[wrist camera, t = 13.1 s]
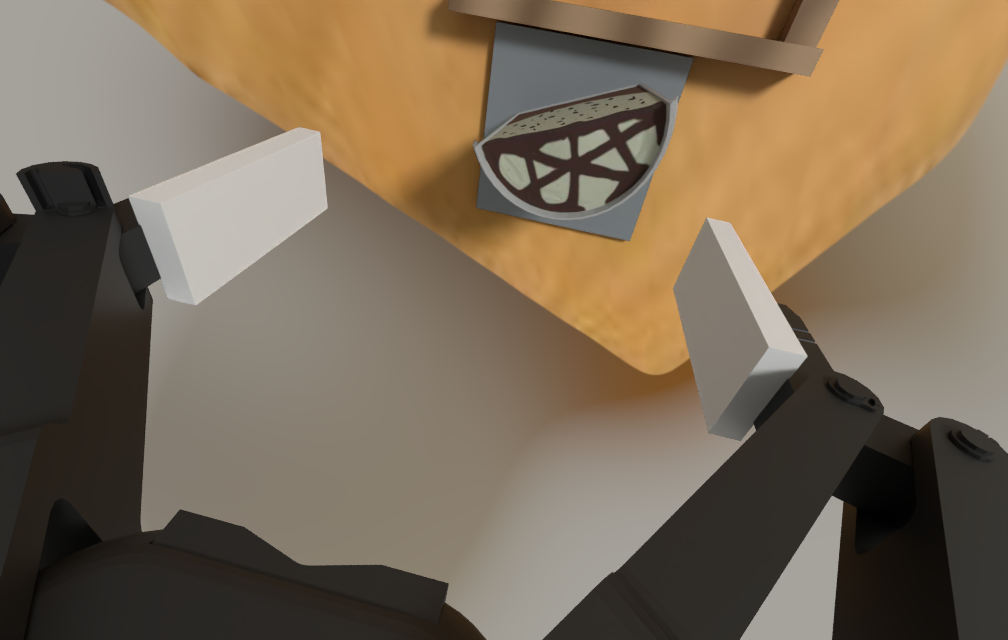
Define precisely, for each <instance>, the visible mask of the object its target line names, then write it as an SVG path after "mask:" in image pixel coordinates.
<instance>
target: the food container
mask: <svg viewBox="0 0 1008 640" xmlns="http://www.w3.org/2000/svg"><path fill="white" fill-rule="evenodd" d="M677 104H678V95H675V97H674V99H673V100H672V101H670V100H668V99H667V98H665V97H664V96H662V95H660V94H659V93H657V92H656V91H654V90H652V89H651V88H649V87H648V86H646V85H645V84H643V83H638V84H634V85H630V86H626V87H622V88H618V89H613V90H609V91H605V92H601V93H597V94H592V95H588V96H584V97H580V98H576V99H572V100H567V101H563V102H559V103H555V104H551V105H547V106H542V107H538V108H534V109H530V110H526V111H521V112H517V113H516V114H515V115H513V116H512V117H511V118H510V119H508V120H507V121H506V122H505V123H503V124H502V125H501V126H499V127H498V128H497V129H496V130H494V131H493V132H492V133H491V134H489V135H488V136H487V137H486V138H484V139H483V140H482V141H480V142H479V143H477V140H476V141H474V143H473V148H474V151H475V153H476V156H477V159H478V161H479V163H480V165H481V167H482V169H483V171H484V173H485V174H486V176H487V177H488V179H489V180H490V181H491V183H492V184H493V186H494V187H495V188H496V189H497V190H498V191H499V192H500V193H501V194H502V195H503V196H504V197H505V198H507V199H508V200H509V201H511V202H512V203H513V204H514V205H516V206H518V207H520V208H522V209H523V210H525V211H527V212H529V213H532V214H535V215H537V216H540V217H545V218H549V219H554V220H579V219H585V218H589V217H594V216H597V215H600V214H602V213H605V212H607V211H610V210H612V209H613V208H615V207H617V206H619V205H620V204H622V203H624V202H625V201H626V200H628V199H629V198H630V197H631V196H633V195H634V194H635V193H636V192H637V191H638V190H639V189H640V188H641V187H642V186H643V185H644V184H645V183H646V182H647V181H648V180H649V178H650V177H651V175H652V174H653V173H654V171H655V170H656V169H657V167H658V165H659V163H660V161H661V160H662V158H663V156H664V154H665V152H666V150H667V147H668V144H669V142H670V139H671V136H672V133H673V130H674V125H675V120H676V115H677Z"/></svg>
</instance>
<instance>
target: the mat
mask: <svg viewBox="0 0 1008 640" xmlns="http://www.w3.org/2000/svg"><path fill="white" fill-rule="evenodd" d="M693 59H694V58H693V57H687V56H682V55H676V54H671V53H665V52H660V51H654V50H649V49H644V48H638V47H633V46H627V45H622V44H616V43H611V42H605V41H600V40H595V39H589V38H584V37H578V36H573V35H567V34H562V33H557V32H551V31H546V30H540V29H535V28H529V27H524V26H518V25H513V24H508V23H502V22H496V30H495V40H494V49H493V58H492V67H491V77H490V86H489V95H488V104H487V113H486V123H485V132H484V138H486V137H487V136H488V135H489V134H491V133H492V132H493V131H494V130H496V129H497V128H498V127H499V126H501V125H502V124H503V123H505V122H506V121H507V120H508V119H510V118H511V117H512V116H513V115H515V114H516V113H517V112H521V111H526V110H530V109H534V108H538V107H542V106H547V105H551V104H555V103H559V102H563V101H567V100H572V99H576V98H580V97H584V96H588V95H592V94H597V93H601V92H605V91H609V90H613V89H618V88H622V87H626V86H630V85H634V84H638V83H643V84H645V85H646V86H648V87H649V88H651V89H652V90H654V91H656V92H657V93H659V94H660V95H662V96H664V97H665V98H667V99H668V100H670V101H672V100H673V99H674V97H675V95H678V102H679V99H680V97H681V94H682V91H683V88H684V85H685V82H686V79H687V77H688V74H689V71H690V68H691V65H692V62H693ZM677 105H678V104H677ZM653 174H654V173H653ZM653 174H652V175H651V177H650V178H649V180H648V181H647V182H646V183H645V184H644V185H643V186H642V187H641V188H640V189H639V190H638V191H637V192H636V193H635V194H634V195H633V196H631V197H630V198H629V199H628V200H626V201H625V202H624V203H622V204H620V205H619V206H617V207H615V208H613V209H612V210H610V211H607V212H605V213H602V214H600V215H597V216H594V217H589V218H585V219H579V220H554V219H549V218H545V217H540V216H537V215H535V214H532V213H529V212H527V211H525V210H523V209H522V208H520V207H518V206H516V205H514V204H513V203H512V202H511V201H509V200H508V199H507V198H505V197H504V196H503V195H502V194H501V193H500V192H499V191H498V190H497V189H496V188H495V187H494V186H493V184H492V183H491V181H490V180H489V179H488V177H487V176H486V174H485V173H484V171H483V169H482V167H481V169H480V178H479V187H478V196H477V206H476V208H479V209H484V210H489V211H493V212H498V213H502V214H507V215H512V216H516V217H521V218H526V219H530V220H535V221H539V222H544V223H549V224H553V225H558V226H562V227H567V228H572V229H576V230H581V231H586V232H590V233H595V234H599V235H604V236H609V237H613V238H618V239H622V240H627V241H630V239H631V236H632V233H633V231H634V228H635V225H636V222H637V219H638V216H639V213H640V211H641V208H642V205H643V202H644V199H645V196H646V194H647V191H648V188H649V185H650V182H651V179H652V176H653Z"/></svg>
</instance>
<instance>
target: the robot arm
mask: <svg viewBox="0 0 1008 640" xmlns="http://www.w3.org/2000/svg"><path fill="white" fill-rule="evenodd" d="M16 175H17V177H18V178H19V180H20V182H21V184H22V186H23V188H24V190H25V192H26V193H27V195H28V197H29V199H30V201H31V203H32V205H33V206H34V208H35V210H36V212H35V215H28V214H13V213H12V212H11V210H10V208H9V207H8V205H7V203H6V201H5V200H4V198H3V196H2V195H1V194H0V640H486V638H484V636H483V635H482V634H481V633H480V632H479V630H478V629H477V628H476V627H475V626H474V625H473V624H472V623H471V622H470V621H469V620H468V619H467V618H465V617H464V616H463V615H462V614H461V613H460V612H458V611H457V610H455V609H454V608H452V607H451V606H449V605H448V604H446V603H445V600H446V595H447V590H448V583H445V582H441V581H437V580H434V579H430V578H427V577H423V576H420V575H416V574H412V573H409V572H405V571H402V570H398V569H394V568H391V567H387V566H383V565H331V566H329V565H328V566H327V565H326V566H307V565H301V564H299V563H297V562H295V561H293V560H292V559H290V558H289V557H288V556H286V555H285V554H283V553H282V552H280V551H279V550H277V549H276V548H274V547H273V546H271V545H270V544H268V543H267V542H265V541H264V540H262V539H261V538H259V537H258V536H257V535H255V534H253V533H252V532H251V531H249V530H248V529H246V528H245V527H242V526H238V525H234V524H231V523H227V522H224V521H220V520H217V519H213V518H209V517H206V516H202V515H198V514H194V513H191V512H187V511H184V510H179V511H178V512H177V514H176V515H175V516H174V517H173V518H172V520H171V521H170V522H169V523H168V525H167V526H166V527H165V528H164V529H163V530H155V531H147V532H142V531H141V522H140V515H141V497H142V480H143V462H144V445H145V426H146V410H147V392H148V373H149V357H150V339H151V322H152V304H153V299H152V296H151V294H150V292H149V289H148V286H149V285H151V284H152V283H154V282H156V281H157V280H159V279H160V280H161V282H162V285H163V288H164V290H165V292H166V295H167V298H168V299H171V300H175V301H179V302H183V303H187V304H191V305H195V306H196V305H197V304H199V303H200V302H201V301H203V300H204V299H205V298H207V297H208V296H209V295H211V294H212V293H214V292H215V291H216V290H218V289H219V288H220V287H222V286H223V285H224V284H226V283H227V282H228V281H230V280H231V279H232V278H234V277H235V276H237V275H238V274H239V273H241V272H242V271H243V270H245V269H246V268H247V267H249V266H250V265H252V264H253V263H254V262H255V261H257V260H258V259H260V258H261V257H262V256H264V255H265V254H266V253H268V252H269V251H270V250H272V249H273V248H274V247H276V246H277V245H279V244H280V243H281V242H283V241H284V240H285V239H287V238H288V237H289V236H291V235H292V234H293V233H295V232H296V231H297V230H298V229H300V228H302V227H303V226H304V225H306V224H307V223H308V222H310V221H311V220H312V219H314V218H315V217H316V216H318V215H319V214H320V213H322V212H323V211H325V210H326V209H327V208H328V207H327V197H326V187H325V177H324V166H323V156H322V146H321V136H320V132H318V131H314V130H309V129H305V128H300V127H298V128H295V129H293V130H290V131H288V132H286V133H283V134H281V135H278V136H276V137H273V138H271V139H268V140H266V141H263V142H261V143H258V144H256V145H253V146H251V147H248V148H246V149H244V150H241V151H238V152H236V153H233V154H231V155H228V156H226V157H223V158H221V159H218V160H216V161H213V162H211V163H208V164H206V165H204V166H201V167H199V168H196V169H194V170H191V171H189V172H186V173H184V174H181V175H179V176H176V177H174V178H171V179H169V180H166V181H164V182H162V183H159V184H156V185H154V186H151V187H149V188H146V189H144V190H142V191H139V192H136V193H134V194H131V195H129V196H128V197H129V198H128V199H125V200H123V201H120V202H118V203H115V204H113V202H112V200H111V198H110V195H109V193H108V190H107V188H106V185H105V183H104V181H103V178H102V176H101V173H100V171H99V169H98V167H96V166H94V165H92V164H88V163H82V162H68V161H66V162H65V161H63V162H48V163H43V164H37V165H32V166H30V167H27V168H24V169H21V170H20V171H19V172H17V173H16ZM673 290H674V294H675V298H676V302H677V306H678V310H679V314H680V319H681V323H682V327H683V331H684V335H685V339H686V343H687V347H688V351H689V355H690V360H691V364H692V368H693V372H694V376H695V379H696V384H697V388H698V392H699V396H700V400H701V405H702V409H703V413H704V417H705V421H706V425H707V429H708V433H711V434H715V435H719V436H723V437H727V438H731V439H735V440H739V441H741V440H742V438H743V437H744V436H745V435H746V433H747V432H748V431H749V430H750V428H751V427H752V426H753V425H754V426H755V429H756V432H755V433H754V434H753V435H752V436H751V437H750V438H749V439H748V440H747V441H746V442H745V443H744V444H743V445H742V446H741V447H740V448H739V449H738V450H737V451H736V452H735V453H734V454H733V455H732V456H731V457H730V458H729V459H728V460H727V461H726V462H725V463H724V464H723V465H722V466H721V467H720V468H719V469H718V470H717V471H716V472H715V473H714V474H713V475H712V476H711V477H710V478H709V479H708V480H707V481H706V482H705V483H704V484H703V485H702V486H701V487H700V488H699V489H698V490H697V491H696V492H695V493H694V494H693V495H692V496H691V497H690V498H689V499H688V500H687V501H686V502H685V503H684V504H683V505H682V506H681V507H680V508H679V509H678V510H677V511H676V512H675V514H673V516H671V518H669V519H668V520H667V522H665V523H664V524H663V525H662V527H660V528H659V529H658V530H657V532H655V534H654V535H652V537H650V539H649V540H648V541H647V542H646V543H645V544H644V545H643V546H642V547H641V548H640V549H639V550H638V551H637V552H636V553H635V554H634V555H633V556H632V557H631V558H630V559H629V560H628V561H627V562H626V563H625V564H624V565H623V566H622V567H621V568H620V569H618V570H617V571H616V572H615V573H611V574H609V575H608V576H607V577H606V578H604V579H603V581H601V582H600V583H599V584H598V585H597V586H596V587H595V588H594V589H593V590H592V591H591V592H590V593H589V594H588V595H587V596H586V597H585V598H584V599H583V600H582V601H581V602H580V603H579V604H578V605H577V606H576V607H575V608H574V609H573V610H572V611H571V612H570V613H569V614H568V615H567V616H566V617H565V618H564V619H563V620H562V621H561V622H560V623H559V624H558V625H557V626H556V627H555V628H554V629H553V630H552V631H551V632H550V633H549V634H548V635H547V636H546V637H545V638H544V639H543V640H740V638H741V637H742V635H743V633H744V632H745V630H746V629H747V627H748V626H749V624H750V623H751V621H752V619H753V618H754V616H755V615H756V613H757V612H758V610H759V608H760V607H761V605H762V604H763V602H764V601H765V599H766V597H767V596H768V594H769V593H770V591H771V590H772V588H773V587H774V585H775V583H776V582H777V580H778V579H779V577H780V576H781V574H782V573H783V571H784V569H785V568H786V566H787V565H788V563H789V562H790V560H791V558H792V557H793V555H794V554H795V552H796V551H797V549H798V548H799V546H800V544H801V543H802V541H803V540H804V538H805V537H806V535H807V533H808V532H809V530H810V529H811V527H812V526H813V524H814V522H815V521H816V519H817V518H818V516H819V515H820V513H821V511H822V510H823V508H824V507H825V505H826V503H827V502H828V501H829V499H830V497H831V496H834V497H836V498H838V499H840V500H842V501H844V503H843V516H842V527H841V539H840V551H839V564H838V575H837V588H836V599H835V611H834V623H833V636H832V640H1008V454H1007V453H1006V452H1005V451H1004V450H1003V449H1002V448H1001V447H1000V446H999V444H998V443H997V442H996V441H995V440H994V439H992V438H988V435H987V434H985V433H983V432H982V431H980V430H976V429H974V428H972V427H970V426H968V425H966V424H964V423H961V422H958V421H956V420H953V419H949V418H942V417H938V418H935V419H932V420H931V421H929V422H928V423H927V424H926V425H925V426H923V427H922V428H921V429H920V430H917V429H915V428H913V427H910V426H908V425H906V424H903V423H901V422H899V421H896V420H894V419H892V418H889V417H887V416H885V415H883V413H884V407H883V405H882V404H881V402H880V400H879V398H878V397H876V395H875V394H874V393H872V392H871V390H869V389H868V388H867V387H865V386H864V385H862V384H861V383H859V382H858V381H857V380H854V379H852V378H850V377H848V376H846V375H844V374H841V373H838V372H835V371H833V369H832V368H831V366H830V364H829V363H828V361H827V360H826V358H825V356H824V355H823V353H822V352H821V350H820V348H819V347H818V345H817V344H815V343H814V342H815V340H814V339H813V337H812V336H811V334H810V333H808V329H807V328H806V326H805V324H804V323H803V321H802V320H801V318H800V317H799V316H797V315H796V314H795V313H794V312H793V311H792V310H791V309H790V308H788V307H787V306H786V305H783V304H779V303H776V301H775V299H774V297H773V296H772V294H771V292H770V290H769V289H768V287H767V285H766V284H765V282H764V280H763V278H762V277H761V275H760V273H759V272H758V270H757V268H756V266H755V265H754V263H753V261H752V259H751V258H750V256H749V254H748V253H747V251H746V249H745V247H744V246H743V244H742V242H741V240H740V239H739V237H738V235H737V234H736V232H735V230H734V228H733V227H732V225H731V223H729V222H724V221H720V220H715V219H711V218H706V220H705V222H704V224H703V226H702V228H701V230H700V232H699V235H698V237H697V239H696V241H695V243H694V245H693V247H692V249H691V251H690V254H689V256H688V258H687V260H686V262H685V264H684V266H683V268H682V270H681V273H680V275H679V277H678V279H677V281H676V283H675V285H674V287H673Z"/></svg>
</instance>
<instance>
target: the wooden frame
mask: <svg viewBox="0 0 1008 640" xmlns="http://www.w3.org/2000/svg"><path fill="white" fill-rule="evenodd" d="M838 2H839V0H796V2H795V5H794V7H793V9H792V11H791V14H790V16H789V18H788V20H787V23H786V25H785V27H784V30H783V32H782V34H781V36H780V39H779V41H775V40H770V39H764V38H758V37H753V36H747V35H742V34H736V33H730V32H725V31H719V30H714V29H708V28H702V27H697V26H691V25H686V24H680V23H674V22H669V21H663V20H658V19H652V18H646V17H641V16H635V15H629V14H624V13H618V12H613V11H607V10H601V9H596V8H590V7H585V6H579V5H573V4H568V3H562V2H557V1H551V0H449V3H448V10H450V11H455V12H461V13H466V14H471V15H477V16H482V17H488V18H493V19H499V20H504V21H510V22H515V23H521V24H526V25H531V26H537V27H542V28H548V29H553V30H559V31H564V32H570V33H575V34H580V35H586V36H591V37H597V38H602V39H608V40H613V41H619V42H624V43H630V44H635V45H640V46H646V47H651V48H657V49H662V50H668V51H673V52H679V53H684V54H690V55H695V56H700V57H706V58H711V59H717V60H722V61H728V62H733V63H739V64H744V65H749V66H755V67H760V68H766V69H771V70H777V71H782V72H788V73H793V74H799V75H804V76H809V77H810V76H811V74H812V72H813V70H814V68H815V66H816V64H817V62H818V60H819V58H820V56H821V54H822V52H823V50H824V49H820V48H816V47H817V45H818V43H819V41H820V39H821V37H822V35H823V32H824V30H825V28H826V26H827V24H828V22H829V20H830V18H831V16H832V14H833V12H834V10H835V8H836V6H837V4H838Z"/></svg>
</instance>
